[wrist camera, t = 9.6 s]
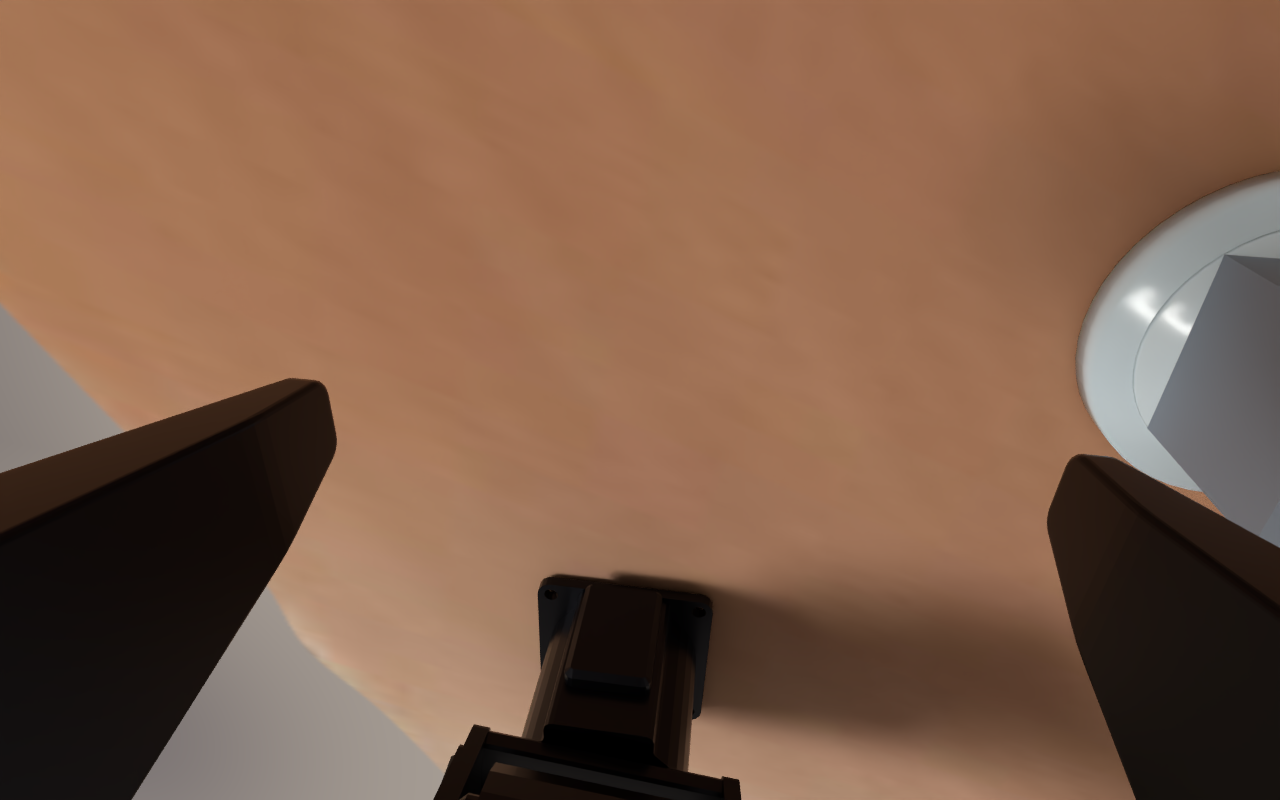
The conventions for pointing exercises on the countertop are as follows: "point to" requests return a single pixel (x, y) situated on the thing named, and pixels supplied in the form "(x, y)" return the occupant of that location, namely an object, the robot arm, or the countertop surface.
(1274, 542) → the block
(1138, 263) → the dish
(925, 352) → the countertop surface
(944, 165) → the countertop surface
